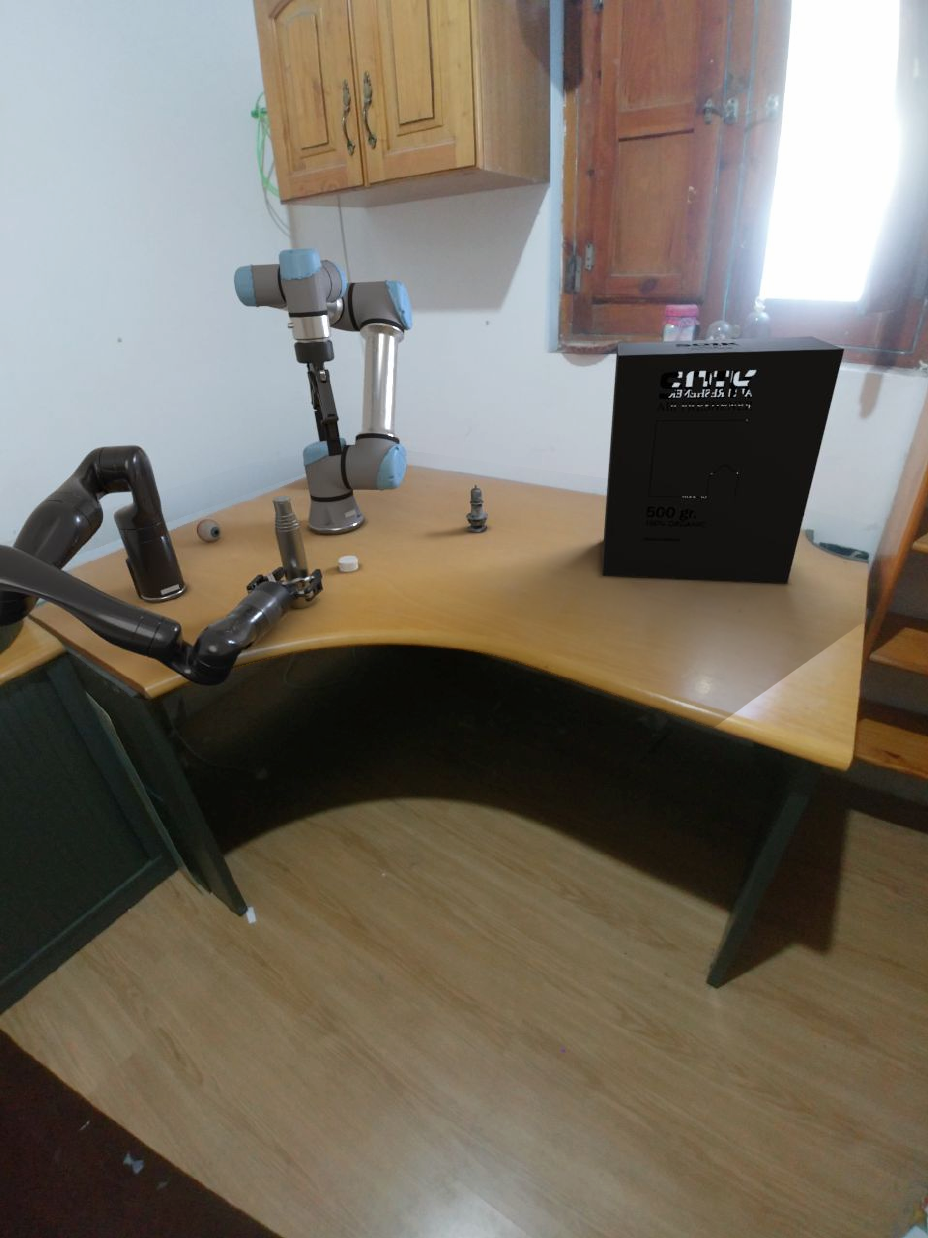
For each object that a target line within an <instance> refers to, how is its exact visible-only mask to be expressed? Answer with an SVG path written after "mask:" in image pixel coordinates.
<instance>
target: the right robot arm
mask: <svg viewBox="0 0 928 1238" xmlns="http://www.w3.org/2000/svg"><path fill="white" fill-rule="evenodd" d="M347 279H348V278H347V276H346V273H345V271H344V270H343V268H342V267H341V266H340V265H339V264H338V263H336V262H334V261H331V260H328V259H325V260H321V259H320V254H319V252H318V251H317V249H316V248H312V247H311V248H292V249H283V250H280V252H279V254H278V263H271V264H249V265H243V266H239V267H237V268H236V269H235V271H234V275H233V285H234V290H235V293H236V296H237V298H238V300H239V301H240V303H242V304H243V306H246V307H252V308H253V307H255V308H261V307H267V308H273V309H277V310H281V311H285V312H287V314H288V317H289V321H290V322H288V323H287V324H286V326H287V328H288V329H291V335H292V339H293V340H294V341H296V342H294V344H293V348H294V352H295V353H294V354H295V358H296V359H295V360H296V361H297V363H299V364H303V365H304V364H305V366H306V368H307V371H306V375H307V378H308V384H309V393H310V398H311V402H310V403H311V405H312V409H313V412H314V418H315V419H314V420H315V424H316V429H317V435H318V441H314V442H312V443H309V444H308V445H307V446H305V447H304V448H303V450H302V457H303V458H302V460H303V467H304V471H305V477H306V481H307V486H308V492H309V498H310V507H309V513H308V521H307V524H308V528H309V529H308V530H310V531H311V532H312V533H314V534H317V535H323V536H324V535H325V536H327V535H329V536H331V535H339V534H340V535H341V534H345V533H350V532H353V531H355V530H357V529H359V528H361V527H362V526H363V525H364V523H365V519H364V514H363V512H362V510H361V508H360V505H359V504H358V501H357V500H356V498H355V495H354V491H380V492H383V491H392V490H396V489H398V488H399V487H400V486H401V484H402V483H403V480H404V478H405V474H406V470H407V451H406V448H405V446H404V445H403V444H401V443H400V441H401V440H400V438H399V436H397V435H396V433H395V428H396V427H395V425H396V401H397V381H398V380H397V378H398V358H399V357H398V354H399V344H401V343H402V342H403V341H404V340H405V331H406V332H407V331H409V330H411V329H412V326H413V312H412V306H411V301H410V297H409V294H408V291H407V287H406V286H405V285H404V283H403V282H402V281H400V280H388V279H384V280H381V281H380V280H379V281H358V282H348V280H347ZM332 329H335V330H339V331H345V332H352V333H355V332H356V333H357V332H358V333H359V334H360V337H361V338H362V339H363V340H364V342H365V343H364V364H363V366H364V367H363V385H362V386H363V389H362V413H361V414H362V415H361V430H360V431H359V432H358V433H356V435H355V440H354V444H347V441H346V439H345V438H344V437H341V436H340V430H339V423H338V422H339V420H340V418H339V415H338V411H337V406H336V401H335V398H334V393H333V389H332V388H333V387H332V384H331V376H330V371H329V369H328V368H327V369H326V366H325V363H328V362H332V361H334V360H335V351H334V344H333V341H332V340H331V339H330V338H331V337H332Z"/></svg>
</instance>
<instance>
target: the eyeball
mask: <svg viewBox="0 0 928 1238" xmlns="http://www.w3.org/2000/svg"><path fill="white" fill-rule="evenodd" d="M196 534H197V536H198V538H199V539H201V540H202V541H204V542H208V543H209V542H211V543H212V542H215V541H216V540H218V539H219V538H220V536H221V534H222V529H221V526H220V524H219V523H218V522H217V521H216V520H214V519H211V518H206V519H203V520H200V521H199V522H198V524H197V526H196Z"/></svg>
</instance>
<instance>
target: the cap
mask: <svg viewBox="0 0 928 1238" xmlns="http://www.w3.org/2000/svg"><path fill="white" fill-rule="evenodd" d="M337 562H338V569H339V570H340V572H342V573H351V572H354V571H357V570H358V569H359V560H358V558H357V556H355V555H344V556H342V557H339V559H338V561H337Z"/></svg>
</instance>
